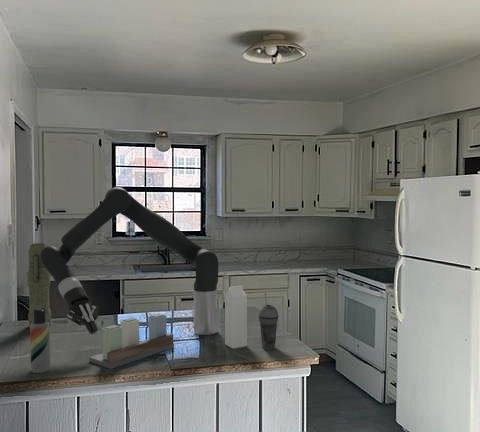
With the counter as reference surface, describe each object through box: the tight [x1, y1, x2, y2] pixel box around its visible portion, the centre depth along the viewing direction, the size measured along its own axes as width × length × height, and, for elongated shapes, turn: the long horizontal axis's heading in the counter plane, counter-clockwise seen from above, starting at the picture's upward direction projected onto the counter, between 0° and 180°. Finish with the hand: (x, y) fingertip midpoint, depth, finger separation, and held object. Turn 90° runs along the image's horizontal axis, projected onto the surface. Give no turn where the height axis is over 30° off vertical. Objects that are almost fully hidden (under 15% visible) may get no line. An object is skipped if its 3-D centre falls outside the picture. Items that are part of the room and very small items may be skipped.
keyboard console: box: [88, 332, 175, 370], centre depth 177 cm, size 12×28×5 cm, turn 142°
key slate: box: [148, 313, 168, 340], centre depth 184 cm, size 4×5×10 cm
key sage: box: [101, 324, 122, 360], centre depth 168 cm, size 4×5×10 cm
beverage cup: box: [258, 292, 279, 350], centre depth 184 cm, size 7×7×20 cm
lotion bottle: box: [29, 308, 51, 374], centre depth 161 cm, size 6×6×20 cm
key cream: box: [119, 317, 140, 348], centre depth 178 cm, size 4×5×10 cm
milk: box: [224, 285, 248, 349], centre depth 187 cm, size 6×6×22 cm
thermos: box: [27, 242, 52, 329], centre depth 214 cm, size 9×12×35 cm
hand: (94, 332), depth 174 cm, fingers closed
